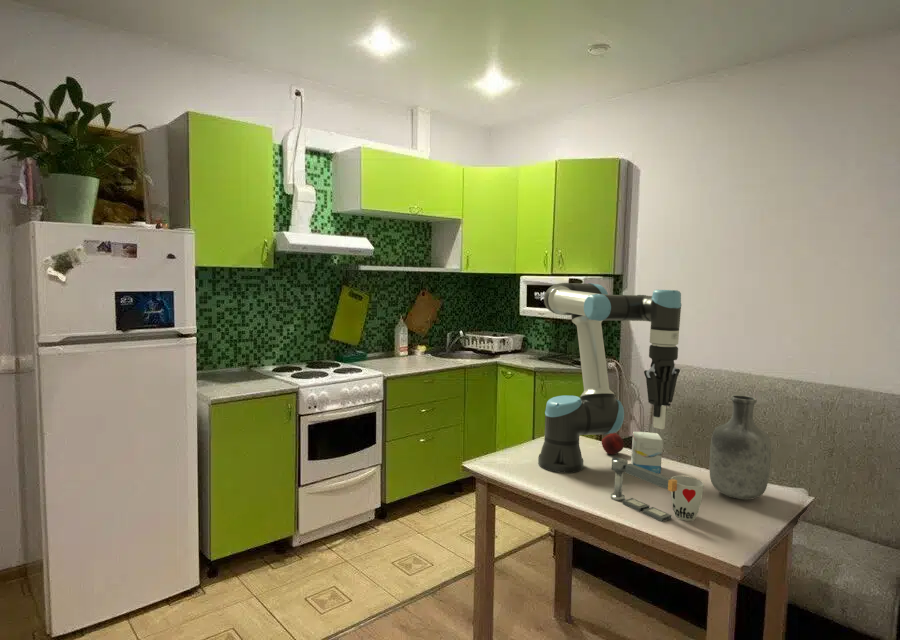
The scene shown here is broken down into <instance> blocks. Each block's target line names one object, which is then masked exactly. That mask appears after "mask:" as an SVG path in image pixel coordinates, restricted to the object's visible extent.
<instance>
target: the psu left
mask: <svg viewBox="0 0 900 640" xmlns="http://www.w3.org/2000/svg"><path fill="white" fill-rule="evenodd" d="M622 505H624V506H627V507H629V508H630V509H633V510H635V511H637V512H639V513H640V512H641V513H643V510H644V509H647V508H651V507H650V504H647V503H644V502H643V501H640V500H638V499H635V498H634V497H630V498H627V499H625V500H623V501H622Z"/></svg>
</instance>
